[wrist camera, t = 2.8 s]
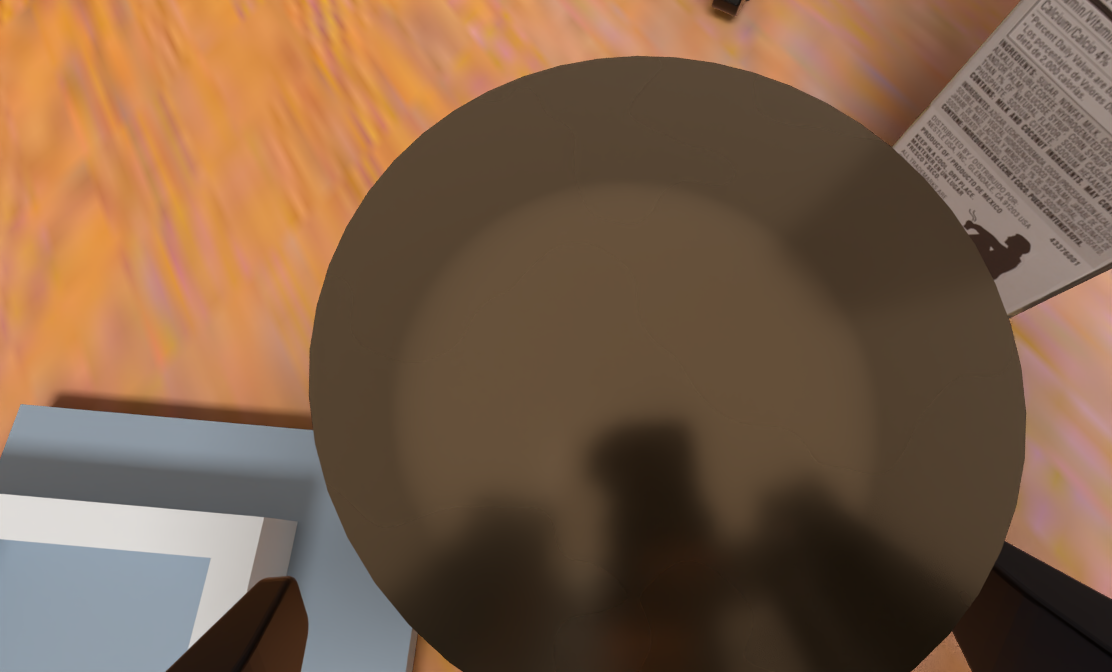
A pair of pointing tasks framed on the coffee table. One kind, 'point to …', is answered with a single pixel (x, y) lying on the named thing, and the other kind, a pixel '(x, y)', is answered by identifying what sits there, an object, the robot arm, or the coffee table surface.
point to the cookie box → (1028, 148)
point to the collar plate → (172, 543)
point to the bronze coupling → (666, 383)
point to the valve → (728, 6)
